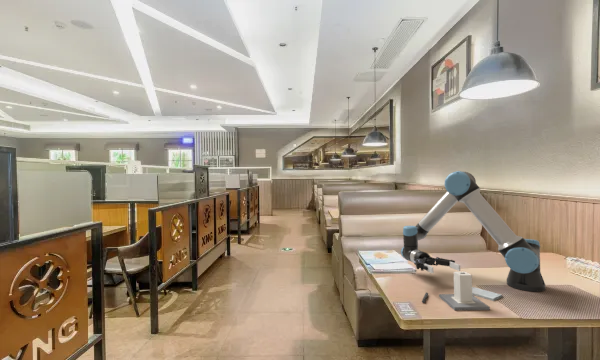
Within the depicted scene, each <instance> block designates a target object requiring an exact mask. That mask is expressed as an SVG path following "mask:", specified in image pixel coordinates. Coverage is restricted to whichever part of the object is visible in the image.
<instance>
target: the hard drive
mask: <svg viewBox="0 0 600 360" xmlns="http://www.w3.org/2000/svg"><path fill="white" fill-rule="evenodd" d="M472 295H473V296H474V297H477V298H483V299H485V300H489V301H492V302H495V301H497V300H498V299H501V298H503V294H501V293H496V292H493V291H490V290H487V289H484V288H479V287H476V286H472Z"/></svg>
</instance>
